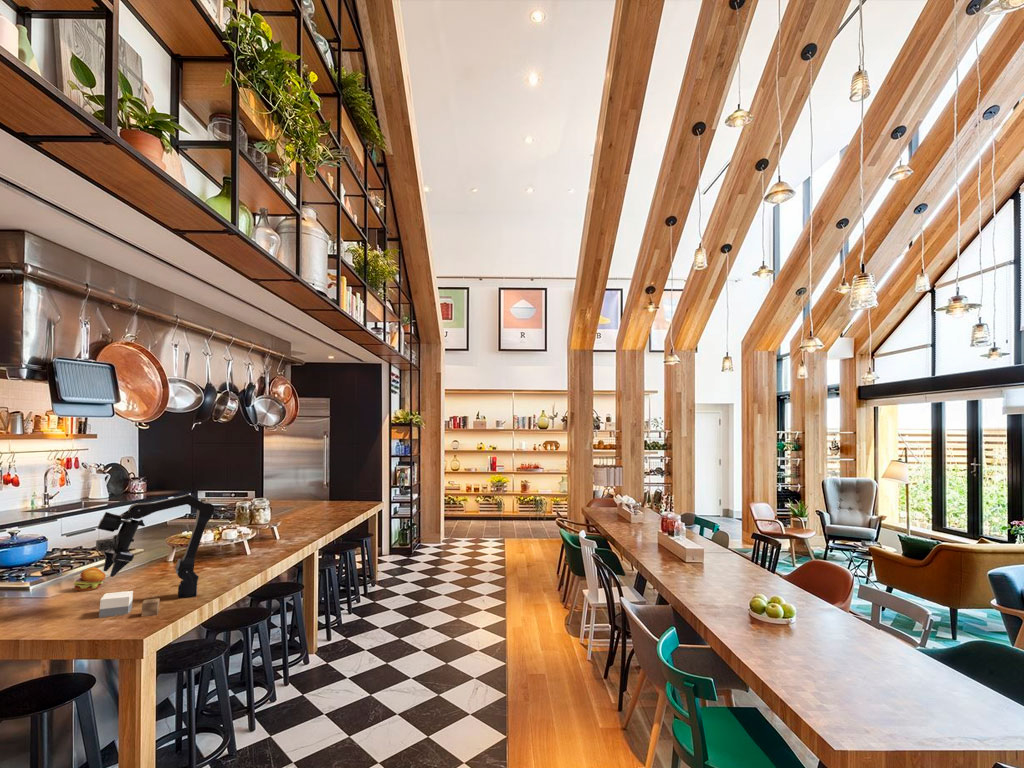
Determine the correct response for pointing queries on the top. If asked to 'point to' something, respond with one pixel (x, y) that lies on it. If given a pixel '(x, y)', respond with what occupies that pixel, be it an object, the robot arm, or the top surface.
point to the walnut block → (150, 607)
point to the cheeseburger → (90, 579)
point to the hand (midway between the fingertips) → (108, 573)
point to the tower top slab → (116, 599)
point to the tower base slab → (115, 611)
